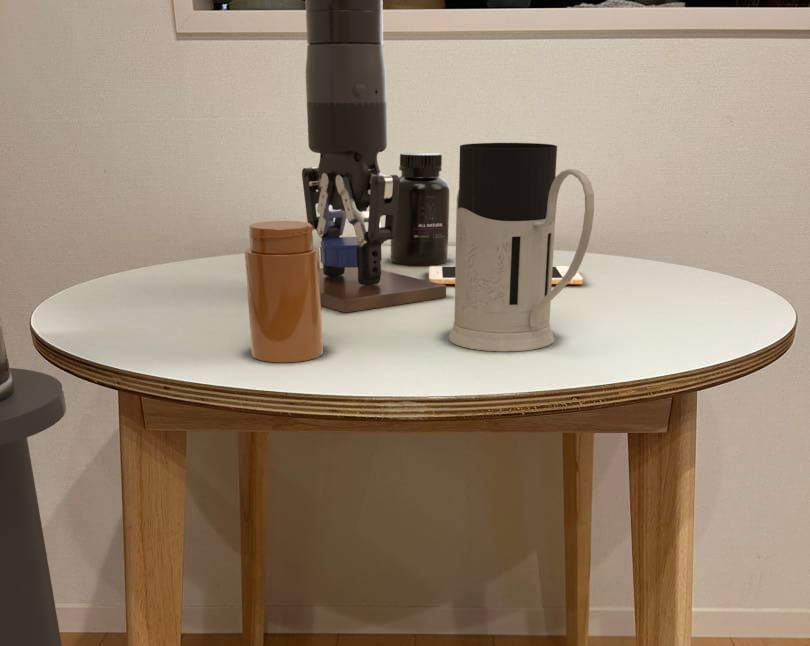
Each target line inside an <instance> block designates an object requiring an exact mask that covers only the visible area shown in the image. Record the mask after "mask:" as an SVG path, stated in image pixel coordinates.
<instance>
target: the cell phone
mask: <svg viewBox="0 0 810 646" xmlns="http://www.w3.org/2000/svg"><path fill="white" fill-rule="evenodd" d="M569 267H570V265H569V266H565V265H564V266H563V265H561V266H560V265H559V266H558V265H556V266H555V265H553V268H552V285H557V284H558V283H559V282H560V280H561V279H562V278H563V277H564V275H565V274H566V273H567V271H568V269H569ZM428 281H430V282H434V283H438V284H442V285H455V265H439V266H437V265H430V266H429V267H428ZM583 281H584V278H583V277H582V275H581V274H580V273H579V271H577V273H576V274H575V276H574V277H573V278H572V279H571V281H570V282H569V283H568V284H567V285H583Z"/></svg>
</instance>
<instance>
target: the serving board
mask: <svg viewBox="0 0 810 646" xmlns="http://www.w3.org/2000/svg"><path fill="white" fill-rule="evenodd" d="M320 289H321V307H326V308H329V309H332V310H335V311H339V312H342V313H345V314H346V313H353V312H359V311H366V310H373V309H379V308H385V307H393V306H400V305H405V304H412V303H418V302H425V301H430V300H431V301H432V300H438V299H445V298H447V284H438V283H434V282H430V281H429V280H425V279H420V278H416V277H413V276H409V275H405V274H399V273H396V272H391V271H387V270H383V269H381V276H380V282H379V283H378V284H373V285H362V284H360V283H359V282H358V267H345V272H344V274H343V275H339V276H331V277H330V276H326V275H325V274H324V273H323V267H320Z"/></svg>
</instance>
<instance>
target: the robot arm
mask: <svg viewBox="0 0 810 646" xmlns="http://www.w3.org/2000/svg"><path fill="white" fill-rule="evenodd" d="M383 3H384V2H383V0H305V21H306V22H305V24H306V44H307V45H306V62H305V92H306V93H305V94H306V114H307V115H306V116H307V140H308V141H307V142H308V149H309V150H310V151H311V152H312V153H316V154H319V162H318V166H312V167H304V168H302V170H301V179H302V188H303V195H304V196H303V197H304V205H305V213H306V221H307V223H310V224H312V225H313V227H314V230H315V231H316V234H317V236H318V238H320V239H321V241H323V240H326V239H331V238H340V237H342V236H343V234H344V230H345V226H346V222H348V223H349V224H350V225H352V226H353V230H354V234H355V237H357V241H358V244H359V245H360V246H357V255H358V282H359V283H360V284H362V285H373V284H378V283H379V282H380V276H381V270H382V260H381V258H382V245H383V244H385V242H387V241H389V240H390V241H391V239H394V238H395V234H396V222H397V210H398V197H399V185H400V180H399V177H400V176H398V174H384V173H381V170H380V167H379V162H378V154H379V153H382V152H384V151H385V150H386V149H387V148H388V147H387V146H388V135H387V133H388V130H387V129H388V128H387V127H388V122H387V120H388V119H387V118H388V117H387V115H388V113H387V70H386V62H385V54H384V45H383V44H384V11H383V10H384V8H383V6H384V5H383ZM316 206H317V207H316ZM317 213H318V214H319V216H318V215H317ZM383 216H385V218H384V226H383V225H382V221H381V219H382V218H383ZM365 223H367V228H366V225H365ZM322 268H323V273H324V274H325V275H326V276H330V277H331V276H339V275H343V274H344V272H345V267H331V266H326V265H323V264H322ZM9 362H10V361H9V358H8V355H7V349H6V343H5V338H4V332H3V324H2V320H1V318H0V401H2V400H4V399H6V398H8V397H9V396H10V395H11V394H12V393H13V392H14V387H13V381H12V375H11V373H10V372H9V368H10V363H9Z"/></svg>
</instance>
